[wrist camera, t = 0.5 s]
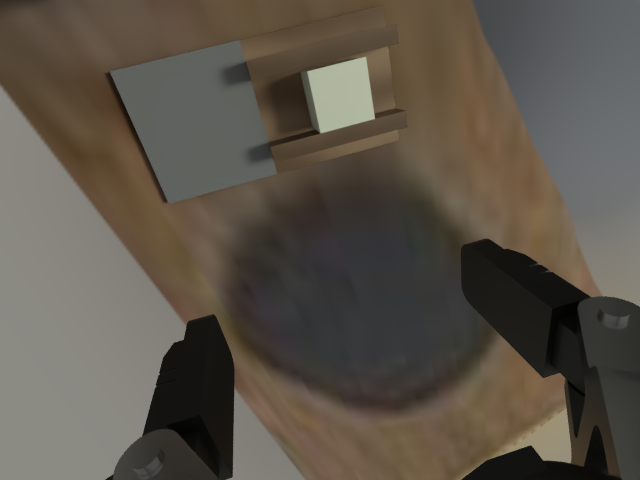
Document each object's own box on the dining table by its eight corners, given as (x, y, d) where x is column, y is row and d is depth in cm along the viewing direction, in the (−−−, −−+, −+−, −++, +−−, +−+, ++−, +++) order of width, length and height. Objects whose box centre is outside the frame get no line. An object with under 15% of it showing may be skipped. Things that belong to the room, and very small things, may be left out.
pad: (112, 71, 30) (109, 71, 30) (239, 40, 31) (239, 40, 31) (169, 201, 36) (168, 203, 35) (276, 172, 37) (277, 173, 36)
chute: (239, 40, 31) (239, 37, 28) (380, 6, 32) (394, 0, 29) (276, 172, 37) (279, 180, 34) (396, 139, 38) (409, 144, 35)
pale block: (300, 71, 33) (307, 71, 29) (352, 58, 33) (365, 56, 29) (312, 127, 35) (320, 133, 31) (361, 114, 35) (374, 118, 32)
